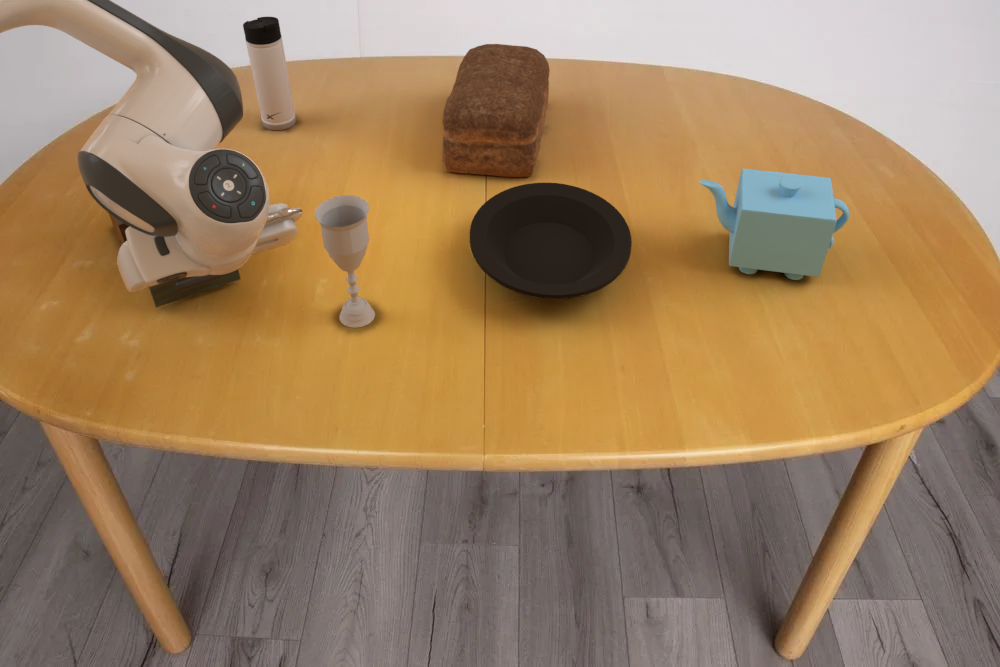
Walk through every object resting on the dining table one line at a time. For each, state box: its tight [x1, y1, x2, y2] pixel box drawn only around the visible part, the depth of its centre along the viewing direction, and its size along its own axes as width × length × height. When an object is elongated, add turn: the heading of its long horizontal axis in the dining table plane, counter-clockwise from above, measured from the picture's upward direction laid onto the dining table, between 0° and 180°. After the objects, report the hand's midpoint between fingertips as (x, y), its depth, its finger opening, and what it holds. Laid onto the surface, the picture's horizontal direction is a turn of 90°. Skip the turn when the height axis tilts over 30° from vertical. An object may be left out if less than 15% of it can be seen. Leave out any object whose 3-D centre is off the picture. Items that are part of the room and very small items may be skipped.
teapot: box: [699, 168, 851, 281], centre depth 130 cm, size 22×11×14 cm, turn 78°
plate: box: [469, 182, 633, 300], centre depth 131 cm, size 28×24×6 cm
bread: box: [441, 43, 551, 178], centre depth 157 cm, size 17×30×13 cm, turn 172°
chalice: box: [314, 194, 376, 329], centre depth 118 cm, size 7×7×18 cm
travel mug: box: [242, 16, 297, 131], centre depth 158 cm, size 6×7×20 cm
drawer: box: [127, 227, 241, 308], centre depth 127 cm, size 18×12×8 cm
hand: (206, 263), depth 108 cm, fingers closed
